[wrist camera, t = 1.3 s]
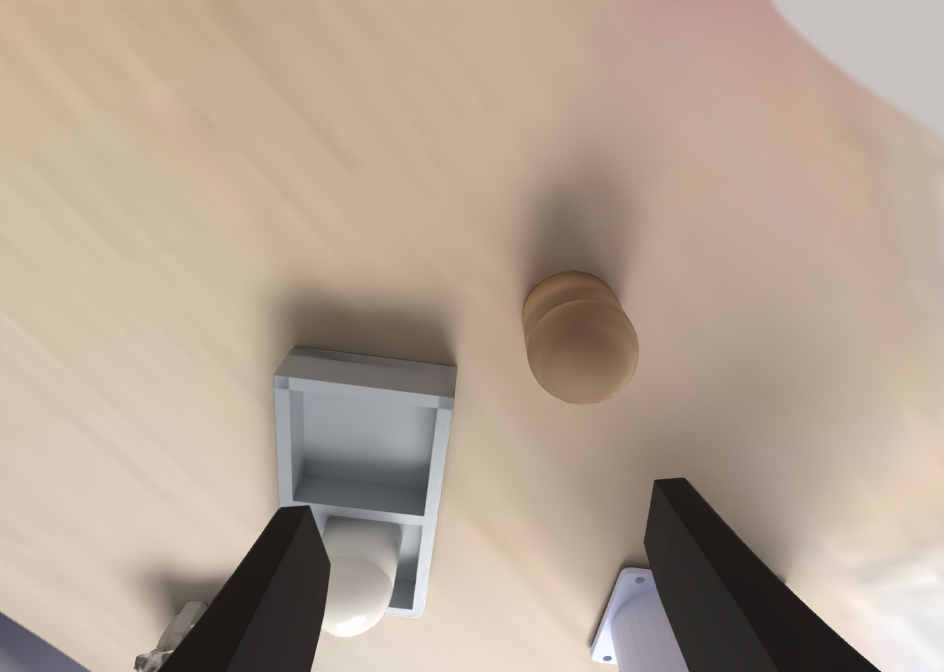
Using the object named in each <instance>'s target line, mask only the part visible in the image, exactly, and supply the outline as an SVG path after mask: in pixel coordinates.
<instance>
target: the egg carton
mask: <svg viewBox="0 0 944 672" xmlns="http://www.w3.org/2000/svg"><path fill="white" fill-rule="evenodd" d="M207 608H208V607H207V606H206V604H205V603H204V602H203V601H187V603H186V604H185V606H184V607H183V609H182V611H181V613H180V614H177V615H176V616H175V617H174V619H173V620H172V622H171V623H170V624H169V626H168V627H167V629H166V630H165V632H164V633H163V635H162V636H161V638H160V640H159V643H158V645H157V649H154V650H153V651H151V652H150V653H147V654H142V655H139V656H137V657H136V661H135V667H134V669H136V670H137V671H138V672H157V670H158V669H159V668H160V667H161V666H162V664H163V663H164V662H165V661H166V660H167V658H168V657H169V656H170V655H171V653H172V652H173V651H174V650H175V648H176V647H177V646H178V645H179V643H180V642H181V641H182V640H183V638H184V637H185V636H186V635H187V633H188V632H189V631H190V630H191V628H192V627H193V626H194V625H195V623H196V622H197V621H198V620H199V618H200V617H201V616H202V615H203V613H204V612H205V611H206V609H207Z"/></svg>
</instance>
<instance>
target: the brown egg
mask: <svg viewBox="0 0 944 672" xmlns="http://www.w3.org/2000/svg"><path fill="white" fill-rule="evenodd" d="M522 322H523V329H524V336H525V342H526V349H527V356H528V361H529V365H530V368H531V371H532V373H533V375H534V377H535V378H536V380H537V381H538V383H539V384H540V385H541V386H542V387H543V388H544V389H545V390H546V391H547V392H548V393H550V394H551V395H553V396H554V397H556V398H558V399H560V400H562V401H565V402H568V403H573V404H594V403H598V402H601V401H604V400H606V399H608V398H610V397H612V396H614V395H615V394H617V393H618V392H619V391H620V390H622V389H623V388H624V386H625V385H626V384H627V383H628V382H629V380H630V379H631V377H632V375H633V373H634V371H635V368H636V365H637V361H638V353H639V347H638V340H637V335H636V333H635V330H634V328H633V325H632V324H631V322H630V320H629V319H628V317H627V315H626V314H625V312H624V310H623V309H622V307H621V305H620V304H619V302H618V300H617V299H616V297H615V296H614V294H613V292H612V291H611V289H610V288H609V287H608V285H606V284H605V283H604V282H603V281H602V280H600V279H599V278H597V277H595V276H593V275H591V274H588V273H583V272H575V271H573V272H564V273H559V274H556V275H553V276H551V277H549V278H547V279H545V280H544V281H542V282H541V283H540V284H538V285H537V286H536V287H535V288H534V289H533V291H532V292H531V293H530V295H529V296H528V298H527V300H526V302H525V305H524V308H523V314H522Z"/></svg>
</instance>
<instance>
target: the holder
mask: <svg viewBox="0 0 944 672" xmlns="http://www.w3.org/2000/svg"><path fill="white" fill-rule="evenodd" d="M456 375H457V367H453V366H446V365H438V364H430V363H423V362H415V361H407V360H399V359H392V358H384V357H376V356H368V355H361V354H353V353H345V352H338V351H330V350H322V349H314V348H307V347H299V346H294V348H293V349H292V351H291V352H290V353H289V355H288V356H287V357H286V359H285V360H284V361H283V363H282V364H281V366H280V367H279V368H278V370H277V371H276V372H275V374H274V375H273V376H274V398H275V419H276V441H277V462H278V484H279V505H280V507H289V506H303V505H310V508H311V510H312V513H313V516H314V519H315V522H316V524H317V527H318V530H319V533H320V535H321V537H322V534H323V531H324V529H325V526H326V523H327V521H328V520H329V518H330V517H331V516H332V515H334V516H342V517H351V518H359V519H368V520H376V521H385V522H393V523H397V524H398V526H399V527H400V530H401V532H402V544H401V549H400V554H399V560H398V565H397V571H396V576H395V581H394V587H393V592H392V597H391V601H390V603H389V605H388V608H387V610H386V611H385V613H384V614H386V615H395V616H404V617H413V618H422V619H423V614H424V607H425V600H426V593H427V586H428V579H429V572H430V565H431V558H432V551H433V544H434V537H435V530H436V523H437V516H438V509H439V502H440V495H441V487H442V480H443V473H444V466H445V459H446V452H447V445H448V438H449V431H450V424H451V417H452V410H453V403H454V395H455V385H456Z"/></svg>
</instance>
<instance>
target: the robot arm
mask: <svg viewBox="0 0 944 672" xmlns="http://www.w3.org/2000/svg"><path fill="white" fill-rule="evenodd" d="M644 545H645V549H646V552H647V556H648V560H649V564H650V567H651V570H650V569H641V568H633V567H628V568H625V569H623V570H622V571H621V572H620V575H619V577H618V580H617V583H616V585H615V588H614V590H613V593H612V596H611V598H610V601H609V603H608V606H607V608H606V611H605V614H604V616H603V619H602V621H601V624H600V627H599V629H598V632H597V634H596V637H595V639H594V642H593V645H592V647H591V650H590V656H591V659H592V660H593V661H595V662H601V663H610V664H618V669H619V672H881V671H880V670H878V669H877V668H876V667H875V666H874V665H873V664H871V663H870V662H869V661H868V660H867V659H866V658H864V657H863V656H862V655H861V654H860V653H858V652H857V651H856V650H855V649H854V648H853V647H852V646H851V645H849V644H848V643H847V642H846V641H845V640H844V639H843V638H841V637H840V636H839V635H838V634H837V633H836V632H835V631H834V630H833V629H832V628H830V627H829V626H828V625H827V624H826V623H825V622H824V621H823V620H822V619H821V618H820V617H819V616H817V615H816V614H815V613H814V612H813V611H812V610H811V609H810V608H809V607H808V606H807V605H806V604H805V603H804V602H803V601H802V600H800V599H799V598H798V597H797V596H796V595H795V594H794V593H793V592H792V591H791V590H790V589H789V588H788V587H787V586H786V585H785V584H784V583H783V582H782V581H781V580H780V579H779V578H778V577H777V576H776V575H775V574H774V573H773V572H772V571H771V570H770V569H769V568H768V567H767V566H766V565H765V564H764V563H763V562H762V561H761V560H760V559H759V558H758V557H757V556H756V555H755V554H754V553H753V552H752V551H751V549H750V548H749V547H748V546H747V545H746V544H745V543H744V542H743V541H742V540H741V539H740V538H739V537H738V536H737V535H736V534H735V532H734V531H733V530H732V529H731V528H730V527H729V526H728V525H727V524H726V523H725V522H724V521H723V519H722V518H721V517H720V516H719V515H718V514H717V513H716V512H715V511H714V510H713V508H712V507H711V506H710V505H709V504H708V503H707V502H706V501H705V499H704V498H703V497H702V496H701V495H700V494H699V493H698V492H697V490H696V489H695V488H694V487H693V486H692V485H691V484H690V483H689V481H687V480H686V479H685V478H673V479H659V480H654V486H653V492H652V498H651V504H650V509H649V515H648V521H647V527H646V533H645V539H644ZM330 569H331V563H330V560H329V558H328V555H327V552H326V549H325V547H324V544H323V541H322V538H321V535H320V533H319V530H318V527H317V524H316V522H315V519H314V516H313V513H312V510H311V508H310V505H303V506H289V507H280V508H279V510H278V511H277V512H276V513H275V515H274V516H273V517H272V519H271V520H270V522H269V523H268V525H267V526H266V528H265V529H264V530H263V532H262V533H261V535H260V536H259V538H258V539H257V541H256V542H255V543H254V545H253V546H252V548H251V549H250V551H249V552H248V553H247V555H246V556H245V558H244V559H243V560H242V562H241V563H240V565H239V566H238V567H237V569H236V570H235V572H234V573H233V574H232V576H231V577H230V578H229V580H228V581H227V582H226V584H225V585H224V586H223V588H222V589H221V590H220V592H219V593H218V595H217V596H216V597H215V599H214V600H213V601H212V603H211V604H210V605H209V607H208V608H207V609H206V611H205V612H204V613H203V615H202V616H201V617H200V618H199V620H198V621H197V622H196V623H195V625H194V626H193V627H192V628H191V630H190V631H189V632H188V633H187V635H186V636H185V637H184V638H183V640H182V641H181V642H180V643H179V645H178V646H177V647H176V648H175V650H174V651H173V652H172V653H171V655H170V656H169V657H168V658H167V660H166V661H165V662H164V663H163V664H162V666H161V667H160V668H159V669H158V670H157V672H310V671H311V667H312V663H313V659H314V655H315V651H316V647H317V643H318V639H319V635H320V631H321V627H322V623H323V618H324V613H325V606H326V600H327V593H328V585H329V577H330Z"/></svg>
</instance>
